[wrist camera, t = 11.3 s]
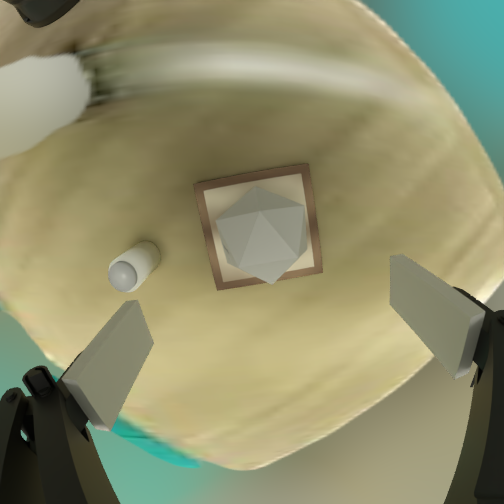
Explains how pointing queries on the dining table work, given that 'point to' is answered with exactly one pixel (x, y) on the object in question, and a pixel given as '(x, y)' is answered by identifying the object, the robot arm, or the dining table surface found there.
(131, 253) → the shaker
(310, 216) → the board
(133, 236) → the dining table surface
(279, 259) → the die
